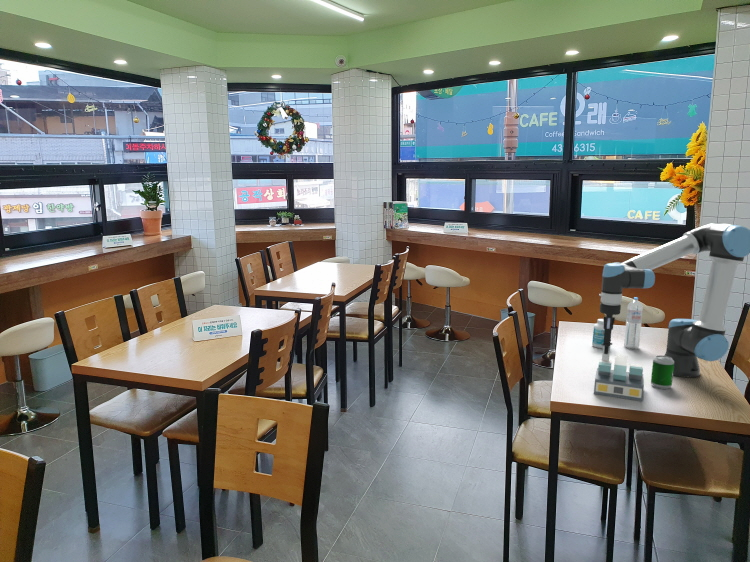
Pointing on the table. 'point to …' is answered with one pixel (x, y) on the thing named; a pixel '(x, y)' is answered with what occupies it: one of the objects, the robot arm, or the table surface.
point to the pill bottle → (598, 334)
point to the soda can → (662, 372)
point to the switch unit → (619, 386)
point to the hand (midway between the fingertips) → (605, 360)
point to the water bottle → (633, 324)
